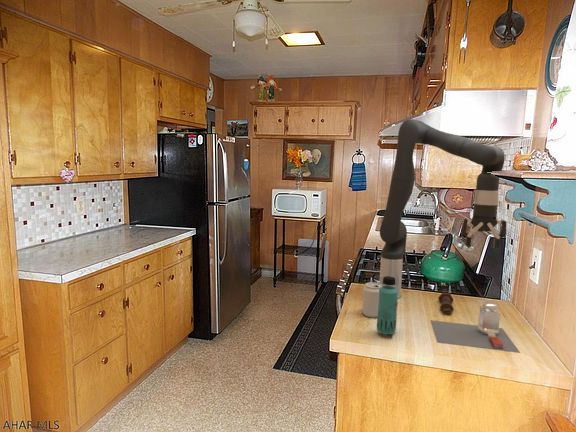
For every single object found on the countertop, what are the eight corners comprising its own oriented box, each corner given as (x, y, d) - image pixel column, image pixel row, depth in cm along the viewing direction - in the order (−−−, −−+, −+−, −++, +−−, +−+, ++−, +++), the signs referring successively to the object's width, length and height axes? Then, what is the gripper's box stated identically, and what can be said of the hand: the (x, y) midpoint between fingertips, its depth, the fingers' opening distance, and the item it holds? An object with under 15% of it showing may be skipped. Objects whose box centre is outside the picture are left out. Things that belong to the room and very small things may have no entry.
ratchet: (486, 347, 119) (488, 331, 118) (475, 327, 134) (476, 313, 133) (509, 350, 118) (511, 334, 117) (495, 329, 132) (496, 315, 131)
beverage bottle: (376, 337, 125) (380, 279, 123) (375, 329, 132) (378, 273, 129) (397, 339, 125) (401, 281, 122) (394, 330, 131) (397, 275, 128)
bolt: (444, 321, 145) (443, 306, 159) (457, 317, 143) (455, 302, 157) (437, 307, 145) (436, 294, 159) (450, 303, 143) (448, 290, 157)
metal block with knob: (482, 328, 128) (484, 305, 127) (478, 322, 133) (480, 300, 131) (498, 330, 127) (500, 307, 125) (494, 324, 131) (496, 302, 130)
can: (380, 319, 140) (382, 288, 138) (360, 316, 143) (362, 286, 141) (382, 312, 147) (384, 282, 145) (363, 309, 150) (364, 280, 148)
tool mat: (437, 344, 122) (437, 342, 122) (430, 322, 139) (430, 320, 139) (520, 355, 116) (520, 352, 116) (502, 330, 133) (502, 328, 133)
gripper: (504, 203, 136) (500, 247, 138) (461, 201, 139) (458, 244, 141) (511, 205, 129) (506, 251, 131) (466, 203, 132) (462, 248, 134)
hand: (481, 247), depth 136 cm, fingers open, 8 cm apart
